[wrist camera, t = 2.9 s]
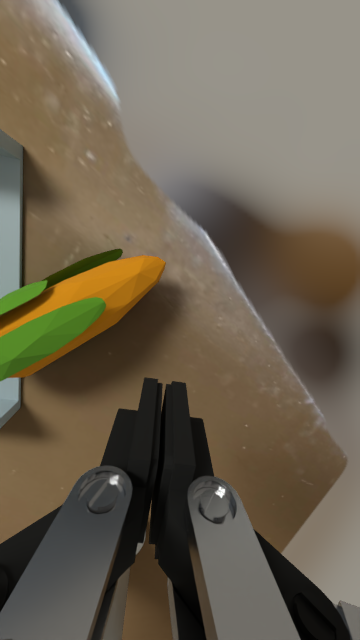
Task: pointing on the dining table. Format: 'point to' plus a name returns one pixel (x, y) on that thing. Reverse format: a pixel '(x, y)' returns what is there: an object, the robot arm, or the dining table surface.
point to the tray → (10, 249)
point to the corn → (70, 308)
